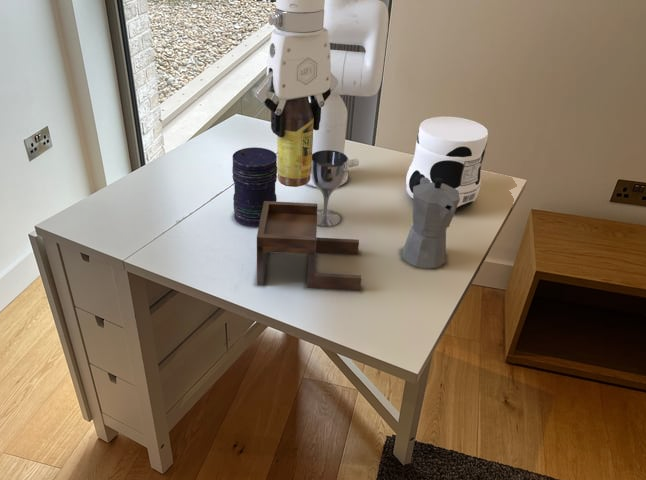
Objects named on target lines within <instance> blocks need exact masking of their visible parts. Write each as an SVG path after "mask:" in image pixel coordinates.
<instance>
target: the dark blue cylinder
mask: <svg viewBox="0 0 646 480" xmlns="http://www.w3.org/2000/svg"><path fill="white" fill-rule="evenodd" d="M231 158H232V167H231V168H232V169H231V170H232V182H233V185H234V188H233V189H234V194H233V196H232V200H233V212H234V214H233V217H234V221H235V222H236V223H237V224H239V225H241V226H244V227H248V228H259V223H260V218H261V213H262V208H263V203H264V201H274V202H278V198H277V194H276V183H277V181H278V172H277V153H275V151H274V150H271V149H269V148H264V147H258V146H257V147H254V146H253V147H244V148H241V149H238V150H236V151H235V152H233V154H232V157H231Z"/></svg>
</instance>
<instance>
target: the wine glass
mask: <svg viewBox="0 0 646 480" xmlns="http://www.w3.org/2000/svg"><path fill="white" fill-rule="evenodd" d="M347 157H348V156H347V155H346V154H345V153H344V154H343V153H341V152H338V151H332V150H323V151H318V152H315V153H313V154H312V167H311V176H312V180H313V183H314V184H315V185H316V187H315V188H317V189H318V190H319V191H320V193H321V195H322V197H323V210H317V226H319V227H332V226H335V225H337V224H339V223H340V222H341V217H340V215H339V214H338V213H336V212H335V211H330V210H328V205H329V200H330V197H331V195H332V194H333V192H335V191H336V190H337V189H338V188H339V187H341V186H342V185H343V184H342V182H343V180H344V177H345V173H346V171H347V170H348V169H347V160H348V159H347ZM341 184H342V185H341Z"/></svg>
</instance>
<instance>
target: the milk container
mask: <svg viewBox="0 0 646 480" xmlns="http://www.w3.org/2000/svg"><path fill="white" fill-rule="evenodd" d="M488 132H489V131H488V128H487V127H485V126H484V125H483V124H481V123H479V122H477V121H475V120H471V119H468V118H464V117H458V116H445V115H443V116H433V117H430V118H426V119H424V120H423V121H422V122H421V123H420V124H419V128H418V131H417V136H416V137H417V138H416V140H415V146H414V153H413V159H412V162H411V164H410V165H409V168H408V170H407V173H406V177H405V190H406V193H407V196H408V197H409V198H411V200H413V187H414V179H415V178H416V177H417V176H418V175H419V174H423V175H424V176H425V178H428V179H429V180H430V183H435V182H434V179H435V178H441V179H443V182H442V183H443V184H446V185H448V186H450V187H452V188H454V189H456V190H458V192H459V197H460V200H459V203H458V205H457V208H456V210H455V211H457V210H462V209H465V208H467V207H470V206H471V205H472V204H473V203H474V202H475V201H476V199H477V198H478V195H479V193H480V189H481V185H482V173H481V171H482V164H483V160H484V157H485V153H486V148H487V145H488V138H489V133H488Z"/></svg>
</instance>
